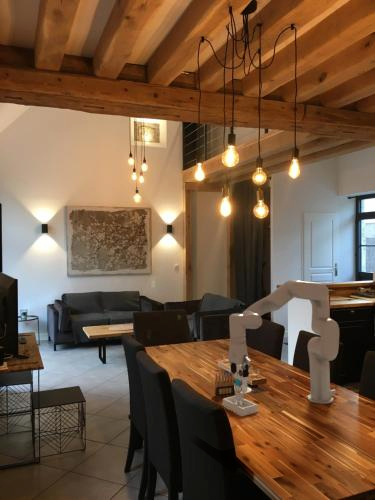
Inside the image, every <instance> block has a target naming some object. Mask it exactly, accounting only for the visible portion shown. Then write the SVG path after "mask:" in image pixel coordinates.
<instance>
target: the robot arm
mask: <svg viewBox="0 0 375 500" xmlns="http://www.w3.org/2000/svg"><path fill="white" fill-rule="evenodd" d="M329 294H330V290H329V288H328V286H327V285H326V284H324V283H320V282H313V281H302V280H296V279H288V280H286V281H285V282H284V283H282V284H281V285H280V286H278V287H277V288H276V289H274V291H272V292H271V293H269V294H268V295H267V296H266V297H263V298H261V299H260V300H257V301H255V302H254V303H253V304H251V305H250V306H248V307H247V308H246V309H245V310H243V312H242V313H232V314H230V315H229V318H228V319H229V321H228V322H229V338H230V339H229V340H230V341H229V345H228V353H227V357H228V360H229V364H230V374H231V373H234V372H237V365H236V364H238V365H242V367H243V377H244V378H245V377H248V378H249V377H250V376H249V375H250V372H249V371H250V367H251V364H252V363H251V362H252V361H251V359H250V358H249V354H248V345H247V338H246V336H247V335H246V329H249V330H250V329H251V330H256V329H259V328H260V327H261V326H262V325H263V319H262V316H263V315H265V314H267V313H271V312H275V311H279V310H280V309H282V308H283V307H284V306H286V304H288V303H289V302H291V300H293V299H294V298H295V299H300V300H308V301H310V304H311V326H310V327H311V331H312V332H313V333H315V334H316V335H318V336H314V337H311V338H310V339H309V340H308V343H307V353H308V358H309V359H308V360H309V376H310V377H309V379H310V381H309V383H310V393H309V394H308V395H307V400H308V401H309V402H311V403H314V404H319V405H327V404H331V403H333V402H334V396H332V395H335V394H337V390H336V389H335V388H334V389H331V383H330V381H331V380H330V379H331V377H330V368H331V367H330V361H334V360H335V359H336V358H337V355H338V354H339V347H340V345H339V344H340V327H339V324H338V323H337V321H335V320H334V319H332V318H331V317H330V312H331V311H330V309H331V308H330V302H329V300H328V296H329ZM244 364H246V365H244Z"/></svg>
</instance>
